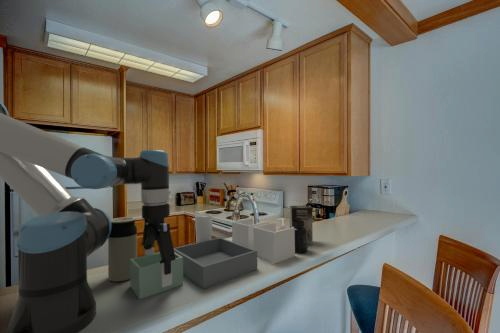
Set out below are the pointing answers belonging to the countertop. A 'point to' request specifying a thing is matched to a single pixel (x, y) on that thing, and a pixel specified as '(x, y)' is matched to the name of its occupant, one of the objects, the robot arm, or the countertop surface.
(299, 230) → the supplement bottle
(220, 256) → the big crate
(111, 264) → the travel mug
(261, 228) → the white cubby shelf
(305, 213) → the coffee box
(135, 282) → the box
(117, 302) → the countertop surface
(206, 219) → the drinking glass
